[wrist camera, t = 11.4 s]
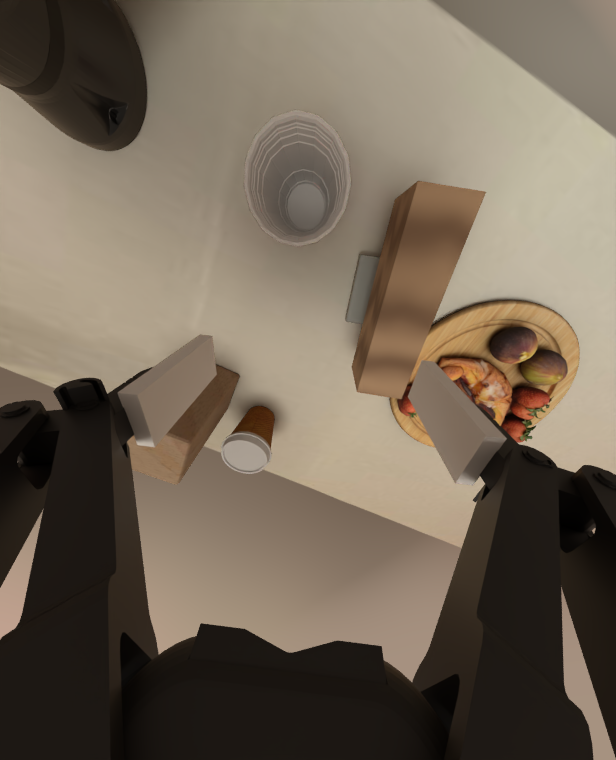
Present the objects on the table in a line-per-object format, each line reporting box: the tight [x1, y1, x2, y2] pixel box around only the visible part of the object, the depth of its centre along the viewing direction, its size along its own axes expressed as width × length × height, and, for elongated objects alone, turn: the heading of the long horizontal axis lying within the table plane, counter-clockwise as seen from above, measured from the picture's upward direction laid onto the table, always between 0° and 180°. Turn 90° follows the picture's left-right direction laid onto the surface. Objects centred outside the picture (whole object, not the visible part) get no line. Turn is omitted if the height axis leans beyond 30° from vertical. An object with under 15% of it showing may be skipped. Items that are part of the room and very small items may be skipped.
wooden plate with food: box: [390, 300, 579, 448], centre depth 42 cm, size 32×32×8 cm
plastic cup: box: [244, 110, 351, 247], centre depth 28 cm, size 11×11×12 cm
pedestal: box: [345, 255, 380, 324], centre depth 35 cm, size 10×10×6 cm
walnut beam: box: [352, 181, 486, 399], centre depth 29 cm, size 22×6×8 cm, turn 172°
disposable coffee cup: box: [221, 406, 275, 474], centre depth 48 cm, size 10×10×12 cm
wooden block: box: [127, 365, 239, 484], centre depth 41 cm, size 10×10×20 cm
